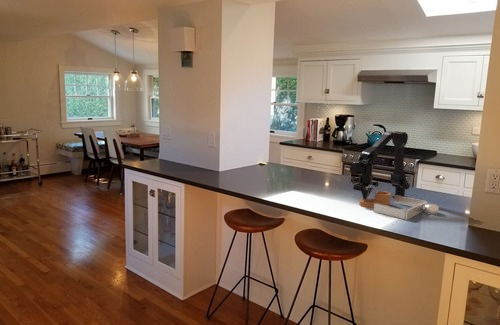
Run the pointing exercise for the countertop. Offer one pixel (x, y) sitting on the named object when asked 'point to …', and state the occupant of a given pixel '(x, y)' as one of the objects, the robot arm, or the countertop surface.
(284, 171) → the countertop surface
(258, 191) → the countertop surface
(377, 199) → the bracket
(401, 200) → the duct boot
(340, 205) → the countertop surface
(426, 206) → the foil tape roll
